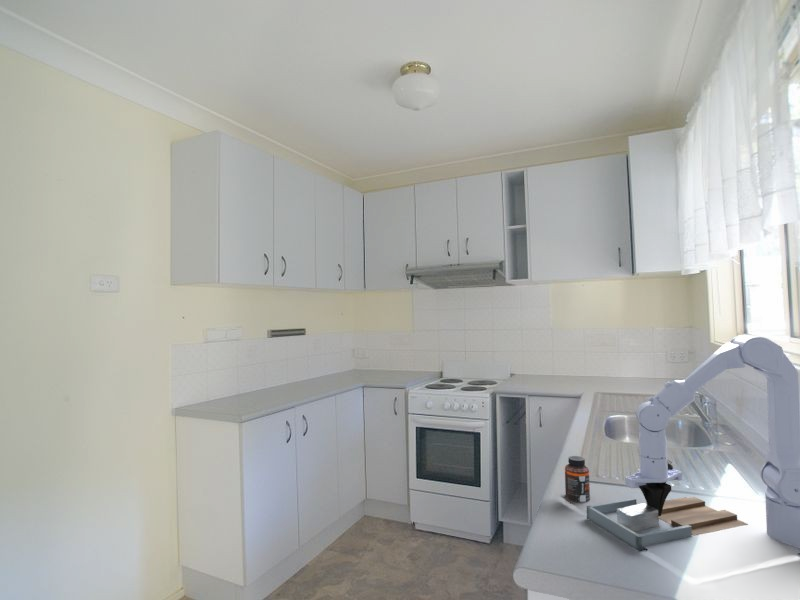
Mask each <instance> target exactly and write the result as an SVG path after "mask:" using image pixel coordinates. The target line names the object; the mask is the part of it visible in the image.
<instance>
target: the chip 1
mask: <svg viewBox="0 0 800 600" xmlns="http://www.w3.org/2000/svg"><path fill="white" fill-rule="evenodd" d="M616 517H617V521H616V522H618V523H620V524H622V525H623V526H625V527H627V528H628V529H630V530H632V531H634V532H637V531H644V530H646V529H647V528H646V526H645V513H644V512H642V511H640V510H638V509H636V508H634V507H632V506H628V507H623V508H619V509H617V511H616Z"/></svg>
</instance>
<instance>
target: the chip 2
mask: <svg viewBox="0 0 800 600" xmlns="http://www.w3.org/2000/svg"><path fill="white" fill-rule="evenodd" d="M632 507H634V508H636V509H638V510H640V511H642V512H644V513H645V526H646V529H649V528H655V527H659V526H660V522H659V519H660V518H659V517H658V510H657V509H655V508H653V507H651V506H649V505H647V503H645V502H643V503H638V504H637V505H632Z"/></svg>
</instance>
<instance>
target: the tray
mask: <svg viewBox="0 0 800 600" xmlns="http://www.w3.org/2000/svg"><path fill="white" fill-rule="evenodd" d="M637 503H638V501H637V499H636V498H635V497H632V498H627V499H620V500H614V501H609V502H603V503H597V504H596V503H595V504H591V505H586V519H587V520H588V519H589V520H588V521H590V522H591V521H592V523H593V524H594V525H596V526H598V527H600V528H601V529H602V530H603V531H606V532H607V533H609V534H611V535H612V536H613V537H615V538H617V539H618V540H619V541H621V542H623V543H625V544H626V545H628V546H629V547H631V548H633V549H634V550H636V551H637V552H639V553H641V552H644V551H648V550H649V549H648V548H647V546H651V545H657V544H659V543H665V542H670V541H674V540H678V539H679V540H680V539H684V538H685V539H686V538H690V537H692V536H693V535H692V530H691V526H689V525H685V526H680V527H675V526H674V527H670V528H665V529H660V530H656V531H650V532H646V533H645V532H644V533H641V534H640V533H638V532H636V531H632V530H630V529H628V528H627V527H625V526H623V525H622V524H620V523H618V521H616V520H614V519H613V518H611V517H610V516H608V515H606V514H610V513H615V512H617V509H619V508H623V507H628V506H632V505H637Z"/></svg>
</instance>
